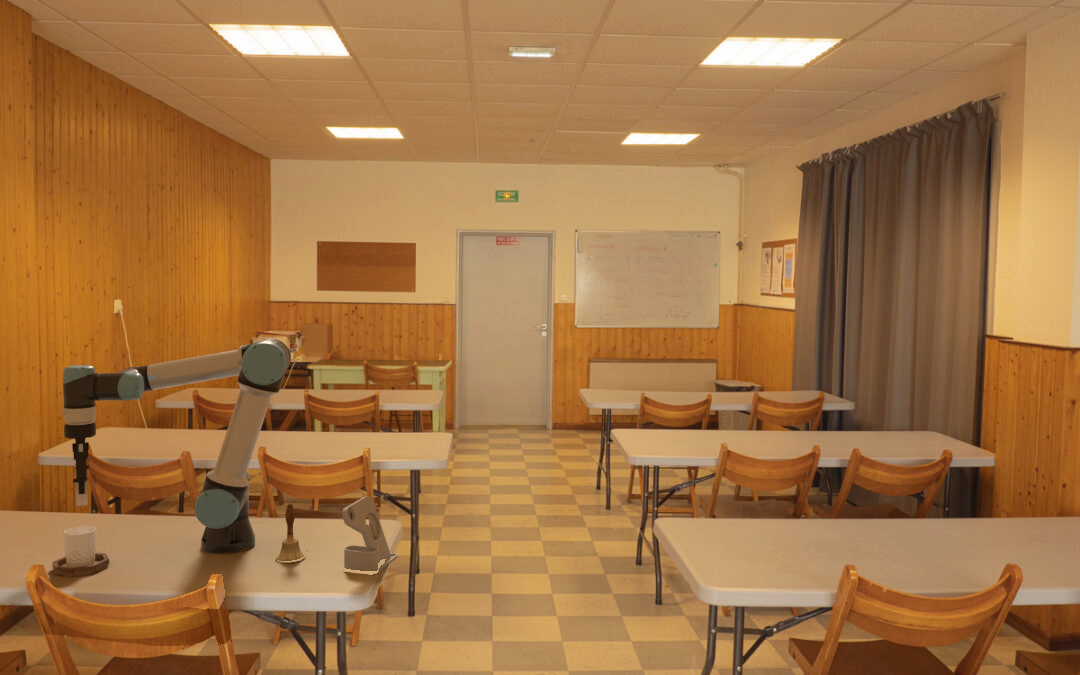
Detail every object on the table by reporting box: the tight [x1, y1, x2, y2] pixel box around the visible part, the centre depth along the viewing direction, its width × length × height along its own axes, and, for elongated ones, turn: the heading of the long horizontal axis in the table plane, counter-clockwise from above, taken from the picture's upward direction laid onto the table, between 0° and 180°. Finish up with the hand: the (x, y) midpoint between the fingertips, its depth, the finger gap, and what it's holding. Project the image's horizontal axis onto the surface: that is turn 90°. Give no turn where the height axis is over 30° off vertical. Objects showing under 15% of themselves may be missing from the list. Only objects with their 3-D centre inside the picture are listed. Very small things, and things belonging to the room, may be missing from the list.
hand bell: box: [275, 503, 305, 561], centre depth 235 cm, size 8×8×16 cm
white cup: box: [63, 525, 98, 568], centre depth 223 cm, size 8×8×10 cm
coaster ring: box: [52, 552, 110, 577], centre depth 224 cm, size 13×13×2 cm
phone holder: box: [341, 495, 399, 572], centre depth 232 cm, size 17×10×18 cm, turn 167°
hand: (81, 499), depth 224 cm, fingers open, 13 cm apart
